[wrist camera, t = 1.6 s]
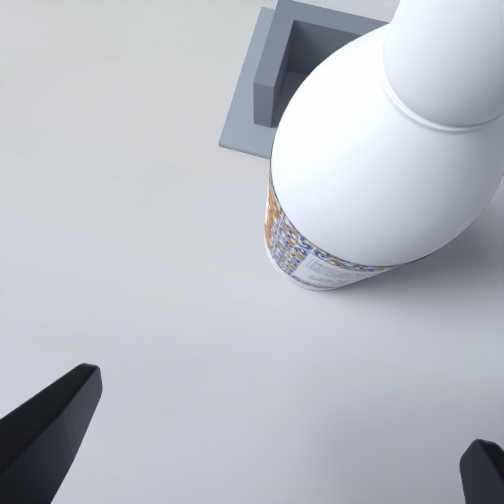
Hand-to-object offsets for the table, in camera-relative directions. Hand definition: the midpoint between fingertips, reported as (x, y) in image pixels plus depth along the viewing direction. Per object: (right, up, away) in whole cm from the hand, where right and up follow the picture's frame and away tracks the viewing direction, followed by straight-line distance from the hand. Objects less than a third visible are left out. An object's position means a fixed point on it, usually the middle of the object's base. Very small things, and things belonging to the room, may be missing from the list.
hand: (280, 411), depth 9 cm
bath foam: (+4, +5, +15) cm, 16 cm away
